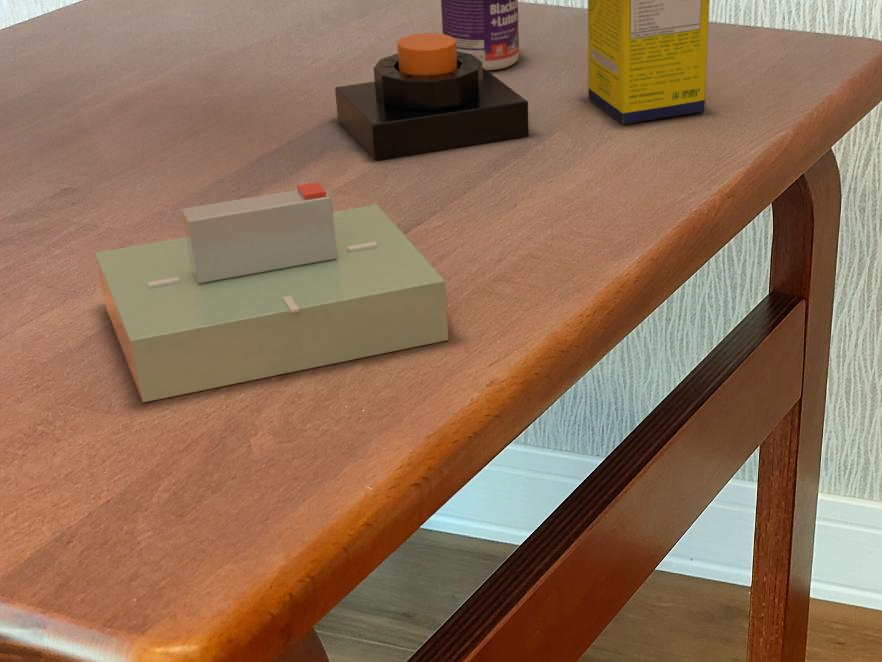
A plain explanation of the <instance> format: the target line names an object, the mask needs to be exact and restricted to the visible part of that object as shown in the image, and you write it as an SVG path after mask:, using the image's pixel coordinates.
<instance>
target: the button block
mask: <svg viewBox="0 0 882 662" xmlns="http://www.w3.org/2000/svg"><path fill="white" fill-rule="evenodd" d="M373 79H374V80H373V81H369V82H362V83H355V84H348V85H340V86H335V87H334V92H335V102H336V112H337V121H338V122H339V123H340V124H341V125H342V126H343V128H345V129H346V130H347V132H348V133H349V134H350V135H351V136H352V137H353V138H354V139H355V141H357V142H358V143H359V144H360V145H361V146H362V148H363V149H364V150H365V151H366V152H367V153H368V154H369V155H370V156H371V157H372V158H373V159H374V160H375V161H380V160H386V159H391V158H393V159H394V158H399V157H404V156H411V155H417V154H418V155H419V154H424V153H430V152H436V151H443V150H450V149H454V148H455V149H456V148H461V147H467V146H473V145H480V144H485V143H492V142H498V141H504V140H511V139H517V138H523V137H528V136H529V131H530V130H529V127H530V126H529V101H528V100H527V99H526V98H524V97H523V96H522V95H520V94H519V93H517V92H516V91H515V90H513V89H512V88H511V87H510V86H508V85H507V84H505V82H503V81H501V80H500V79H499V78H498V77H496V76H495V75H493V74H492V73H491V72H489V70H485V69H484V68H483V67H482V62H481V61H480V60H479V59H477V58H476V57H475V56H473V55H472V54H468V53H463V52H458V51H457V69H456V70H454V71H451V72H449V73H443V74H436V75H411V74H407V73H402V72H400V71H399V63H398V52H397V53H394V54H392V55H389V56H386V57H384V58H380V59H379V60H378V61H377V63H376V64H375V65H374V66H373Z"/></svg>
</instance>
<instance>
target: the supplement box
mask: <svg viewBox="0 0 882 662" xmlns="http://www.w3.org/2000/svg"><path fill="white" fill-rule="evenodd" d="M709 19H710V0H587V41H588V42H587V48H588V49H587V50H588V51H587V53H588V55H587V62H588V63H587V65H588V68H587V75H588V76H587V80H588V81H587V84H588V86H587V87H588V89H587V90H588V91H587V95H588V101H589V102H591V103H593V104H594V105H596V106H597V107H598V108H599V109H601V110H602V111H603V112H605V113H606V114H607V115H608V116H610V117H611V118H613V119H614V120H615V121H617V122H619V123H620V124H621V125H628V124H634V123H639V122H645V121H651V120H656V119H658V120H659V119H664V118H670V117H676V116H684V115H689V114H695V113H696V114H697V113H703V112H705V109H706V91H707V89H706V88H707V64H708V45H709V43H708V41H709Z"/></svg>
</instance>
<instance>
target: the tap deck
mask: <svg viewBox="0 0 882 662" xmlns="http://www.w3.org/2000/svg"><path fill="white" fill-rule="evenodd" d="M333 218H334V227H335V236H336V246H337V255H338V257H337V259H331V260H326V261H320V262H315V263H309V264H304V265H298V266H293V267H287V268H282V269H276V270H271V271H265V272H260V273H254V274H249V275H243V276H237V277H232V278H226V279H221V280H215V281H210V282H204V283H198V281H197V279H196V277H195V275H194V274H193V272H192V270H191V264H190V258H189V253H188V247H187V241H186V236H184V237H178V238H172V239H166V240H161V241H155V242H149V243H144V244H137V245H132V246H126V247H120V248H114V249H108V250H103V251H97V252H94V256H95V261H96V266H97V272H98V276H99V280H100V285H101V290H102V294H103V299H104V304H105V308H106V312H107V314H108V317H109V320H110V322H111V325H112V327H113V329H114V333H115V335H116V338H117V341H118V343H119V345H120V348H121V350H122V353H123V356H124V358H125V361H126V364H127V366H128V368H129V371H130V374H131V376H132V379H133V381H134V383H135V386H136V388H137V391H138V394H139V396H140V399H141V401H142V403H148V402H153V401H157V400H158V401H159V400H162V399H168V398H172V397H177V396H183V395H186V394H187V395H188V394H192V393H197V392H201V391H207V390H212V389H217V388H221V387H222V388H223V387H226V386H232V385H235V384H241V383H246V382H251V381H256V380H261V379H265V378H266V379H267V378H269V377H270V378H271V377H275V376H279V375H284V374H289V373H295V372H299V371H305V370H309V369H314V368H319V367H324V366H328V365H329V366H330V365H333V364H334V365H335V364H339V363H343V362H344V363H345V362H349V361H354V360H358V359H364V358H367V357H372V356H377V355H383V354H387V353H392V352H397V351H402V350H407V349H412V348H416V347H422V346H426V345H431V344H437V343H441V342H445V341H449V324H448V323H449V322H448V308H447V307H448V306H447V291H446V290H447V289H446V279H444V277H442V275H441V274H440V273H439V272H438V271H437V270H436V269H435V267H434V266H433V265H432V264H431V263H430V261H428V259H427V258H426V257H425V256H424V255H423V254H422V253H421V252H420V250H419V249H418V248H417V247H416V246H415V245H414V244H413V242H412V241H410V239H409V238H408V237H407V235H405V233H403V231H402V230H401V229H400V228H399V227H398V225H397V224H396V223H395V222H394V221H393V220H392V218H391V217H389V215H388V214H387V213H386V212H385V211H384V209H382V208H381V206H380V205H379V204H372V205H366V206H362V207H361V206H360V207H356V208H355V207H354V208H350V209H342V210H337V211H333Z"/></svg>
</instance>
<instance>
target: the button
mask: <svg viewBox="0 0 882 662" xmlns="http://www.w3.org/2000/svg"><path fill="white" fill-rule="evenodd" d="M396 48H397V49H396V50H397V53H398V63H399V71H400V72H402V73H407V74H411V75H436V74H443V73H449V72H451V71H454V70H456V69H457V49H456V40H455V38H453V37H451V36H448V35H444V34H443V33H435V32H433V33H432V32H431V33H430V32H426V33H425V32H424V33H415V34H410V35H407V36H404V37H401V38H400V39H398V40H397V43H396Z"/></svg>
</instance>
